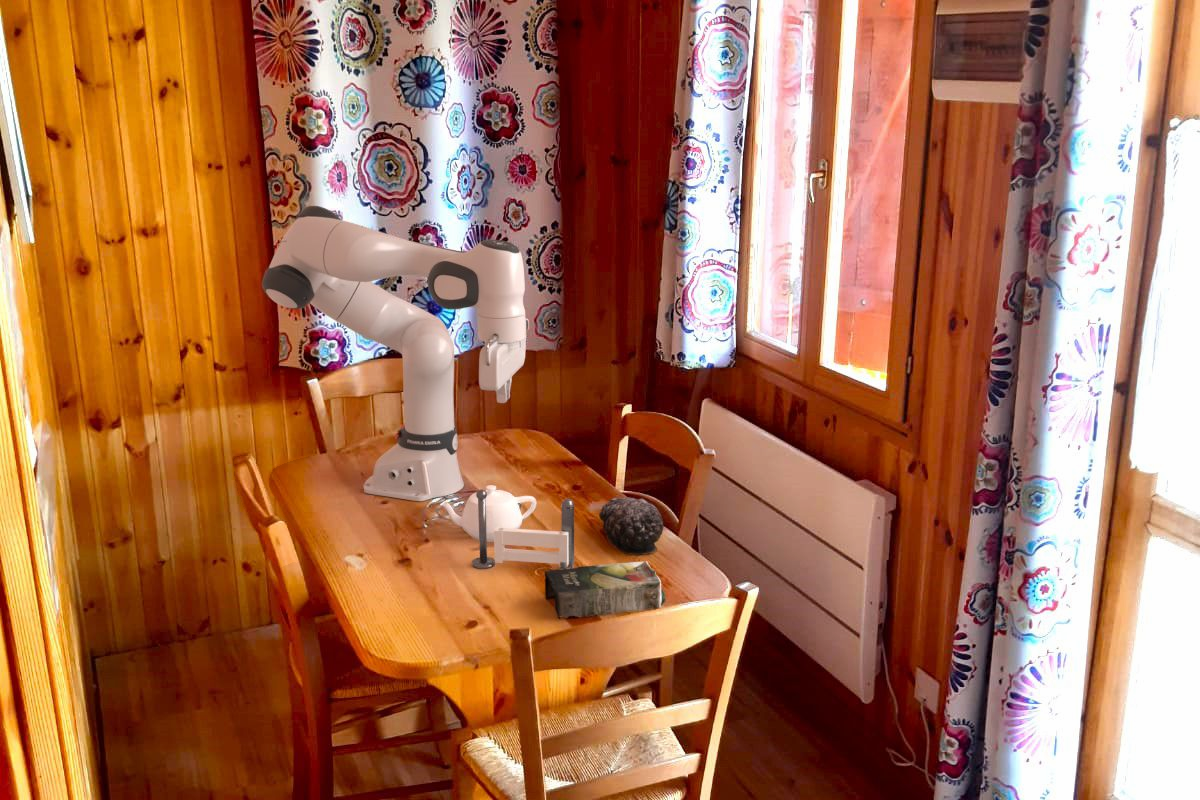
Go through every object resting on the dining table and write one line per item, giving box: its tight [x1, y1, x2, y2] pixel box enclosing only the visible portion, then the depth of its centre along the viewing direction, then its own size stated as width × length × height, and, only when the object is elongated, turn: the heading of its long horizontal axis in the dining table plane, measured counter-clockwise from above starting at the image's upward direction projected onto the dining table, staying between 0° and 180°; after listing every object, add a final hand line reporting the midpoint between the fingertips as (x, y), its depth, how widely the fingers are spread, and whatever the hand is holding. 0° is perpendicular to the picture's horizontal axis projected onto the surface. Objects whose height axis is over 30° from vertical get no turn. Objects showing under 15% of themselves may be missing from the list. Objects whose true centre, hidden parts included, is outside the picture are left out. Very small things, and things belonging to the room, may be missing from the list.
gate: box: [493, 527, 569, 569], centre depth 206 cm, size 14×2×7 cm, turn 82°
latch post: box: [560, 498, 575, 569], centre depth 207 cm, size 2×2×14 cm
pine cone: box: [598, 496, 664, 556], centre depth 218 cm, size 10×18×10 cm, turn 31°
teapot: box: [439, 484, 537, 543], centre depth 222 cm, size 20×12×10 cm, turn 110°
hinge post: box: [471, 488, 496, 570], centre depth 207 cm, size 4×4×15 cm
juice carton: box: [544, 561, 666, 620], centre depth 193 cm, size 20×10×6 cm, turn 105°
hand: (503, 400), depth 205 cm, fingers closed
